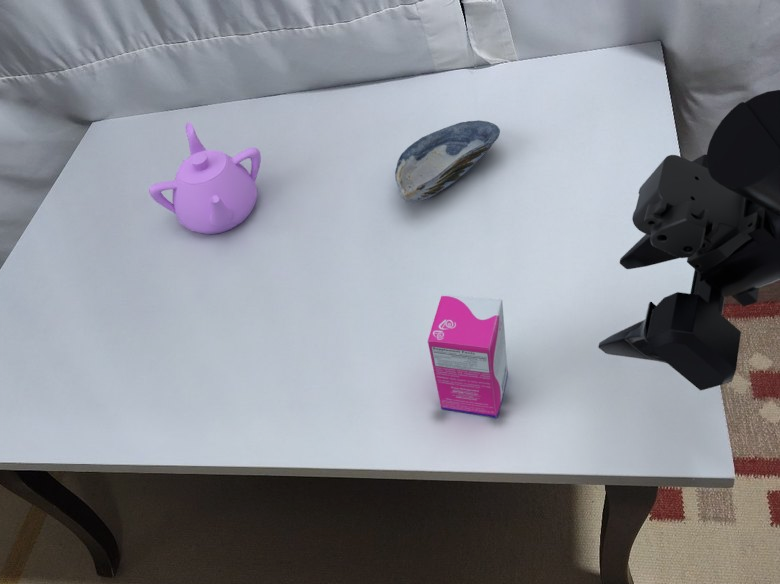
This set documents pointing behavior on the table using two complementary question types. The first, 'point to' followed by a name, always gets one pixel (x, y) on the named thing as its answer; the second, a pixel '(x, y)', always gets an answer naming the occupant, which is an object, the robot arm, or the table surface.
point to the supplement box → (469, 354)
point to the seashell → (442, 158)
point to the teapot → (211, 188)
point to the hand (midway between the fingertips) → (612, 305)
